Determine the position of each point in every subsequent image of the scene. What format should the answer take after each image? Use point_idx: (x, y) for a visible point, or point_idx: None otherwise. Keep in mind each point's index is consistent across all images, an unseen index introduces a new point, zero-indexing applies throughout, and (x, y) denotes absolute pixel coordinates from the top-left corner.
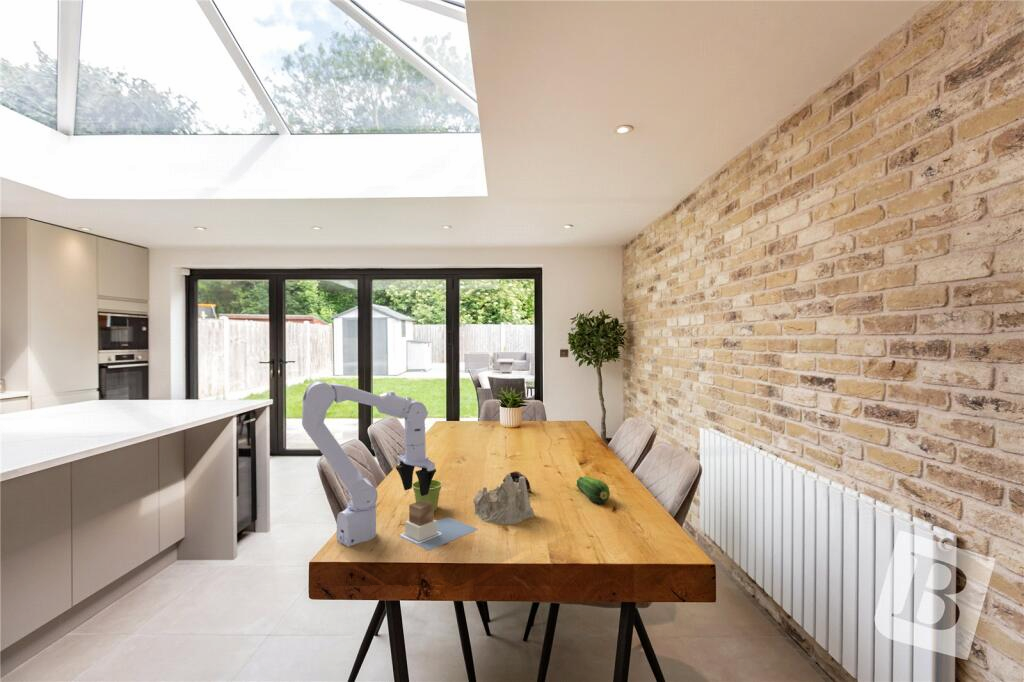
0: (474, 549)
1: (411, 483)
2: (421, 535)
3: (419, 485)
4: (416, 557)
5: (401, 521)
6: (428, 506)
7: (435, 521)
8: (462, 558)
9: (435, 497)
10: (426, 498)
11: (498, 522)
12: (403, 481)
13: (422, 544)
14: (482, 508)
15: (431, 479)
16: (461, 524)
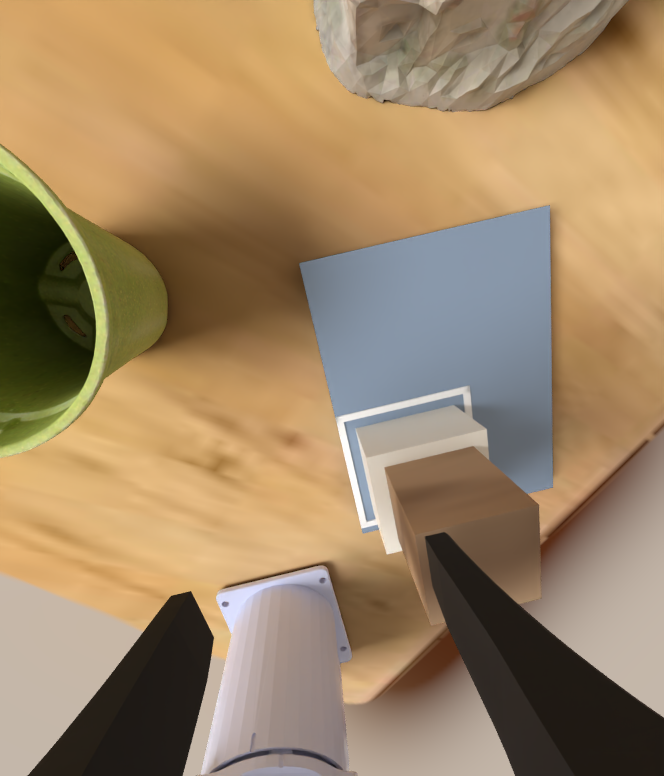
0: (639, 325)
1: (167, 643)
2: None
3: (491, 719)
4: None
5: (183, 457)
6: (535, 537)
7: (487, 439)
8: (651, 399)
9: (121, 268)
10: (125, 348)
11: (593, 33)
12: (178, 771)
13: None
14: (473, 13)
15: (604, 681)
16: (441, 250)
